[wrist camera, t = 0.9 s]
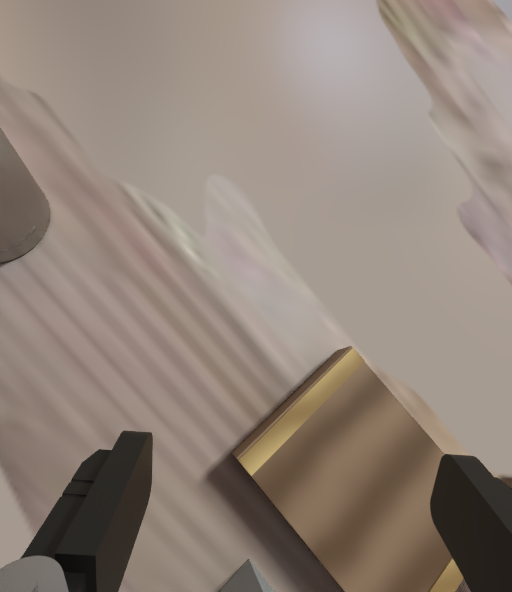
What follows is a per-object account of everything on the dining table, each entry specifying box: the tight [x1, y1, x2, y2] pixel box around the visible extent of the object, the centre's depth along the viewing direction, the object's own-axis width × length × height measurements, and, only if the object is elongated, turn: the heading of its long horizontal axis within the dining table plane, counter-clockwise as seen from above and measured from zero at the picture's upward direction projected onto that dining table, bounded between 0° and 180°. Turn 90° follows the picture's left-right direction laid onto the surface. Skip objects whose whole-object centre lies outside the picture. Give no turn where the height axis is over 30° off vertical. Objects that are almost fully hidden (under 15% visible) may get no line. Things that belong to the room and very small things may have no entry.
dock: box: [232, 346, 464, 592], centre depth 32 cm, size 20×14×3 cm
